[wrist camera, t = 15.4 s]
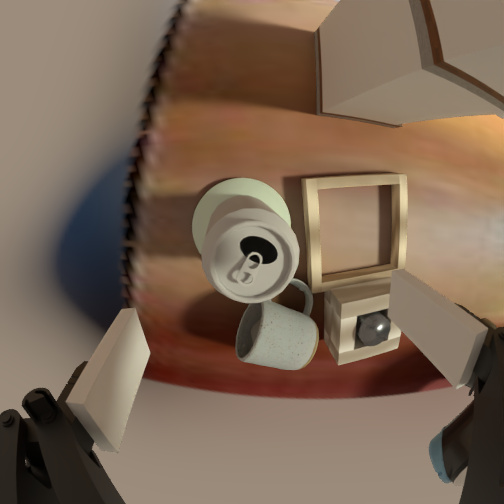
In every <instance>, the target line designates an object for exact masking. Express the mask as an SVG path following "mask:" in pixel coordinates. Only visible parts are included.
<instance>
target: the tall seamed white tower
mask: <svg viewBox="0 0 504 504" xmlns="http://www.w3.org/2000/svg"><path fill="white" fill-rule="evenodd" d="M314 38H315V59H316V94H317V115H319V116H327V117H335V118H342V119H348V120H355V121H360V122H366V123H371V124H377V125H382V126H386V127H391V128H397V127H402V124H404V123H410V122H417V121H425V120H433V119H441V118H450V117H461V116H474V115H490V114H496V115H497V116H499V117H501V118H504V0H340V1H339V3H338V4H337V5H336V6H335V7H334V9H333V10H332V11H331V12H330V14H329V15H328V16H327V17H326V19H325V20H324V21H323V22H322V24H321V25H320V26H319V28H318V29H317V30H316V31H315V33H314Z"/></svg>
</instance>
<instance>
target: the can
mask: <svg viewBox="0 0 504 504" xmlns="http://www.w3.org/2000/svg"><path fill="white" fill-rule="evenodd" d="M201 254H202V267H203V270H204V272H205V275H206V277H207V280H208V281H209V282H210V283H211V284H212V286H213V287H214V288H215V289H216V290H217V291H218V292H220V293H221V294H223V295H225V296H226V297H228V298H230V299H232V300H235V301H239V302H243V303H260V302H263V301H266V300H269V299H272V298H273V297H275V296H276V295H278V294H279V293H281V292H282V291H283V290H284V289H285V288H286V286H287V285H288V284H289V283H290V281H291V279H292V278H293V277H294V274H295V271H296V269H297V266H298V264H299V246H298V242H297V238H296V235H295V233H294V232H293V230H292V229H291V228H290V226H289V225H288V223H287V222H286V221H285V220H284V219H283V218H281V217H280V216H279V215H278V214H277V213H276V212H275V211H274V210H273V209H272V208H270V207H269V206H268V205H267V204H265V203H264V202H263V201H261V200H260V199H258V198H255V197H252V196H249V195H238V196H234V197H231V198H228V199H226V200H225V201H223V202H222V203H221V204H219V205H218V206H217V207H216V209H215V210H214V212H213V213H212V214H211V217H210V221H209V224H208V227H207V231H206V235H205V239H204V243H203V247H202V251H201Z"/></svg>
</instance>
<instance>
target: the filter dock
mask: <svg viewBox="0 0 504 504" xmlns="http://www.w3.org/2000/svg"><path fill="white" fill-rule="evenodd" d="M301 185H302V197H303V209H304V223H305V239H306V257H307V278H308V287H309V288H310V290H311V292H312V294H313V293H319V292H324V341H325V343H326V344H327V346H328V348H329V350H330V352H331V353H332V355H333V357H334V359H335V361H336V363H337V364H338V365H342V364H345V363H349V362H353V361H357V360H360V359H364V358H367V357H371V356H374V355H378V354H381V353H384V352H387V351H391V350H394V349H397V348H398V345H399V340H400V335H401V330H400V329H399V328H398V327H397V326H396V325H395V323H394V322H393V321H392V320H391V319H390V318H389V317H388V316H387V315H388V307H389V297H390V287H391V274H392V271H394V270H399V269H404V270H405V259H406V243H407V174H400V173H388V174H360V175H341V176H325V177H312V178H301ZM371 185H391V192H392V238H391V261H390V264H385V265H380V266H375V267H369V268H364V269H358V270H353V271H347V272H341V273H335V274H330V275H324V276H322V274H321V243H320V222H319V206H318V192H317V189H328V188H340V187H355V186H371ZM375 311H380V313H381V314H382V315H383V316H384V317H385V318H386V319H387V320H388V321H389V322H390V325H391V329H390V332H389V335H388V336H387V338H386V339H385V340H384V341H383V342H381V343H380V344H378V345H376V346H366V345H365V344H364V343H363V342H362V340H361V339H360V338H359V336H358V335H357V334H356V321H357V316H359V315H363V314H367V313H371V312H375Z"/></svg>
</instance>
